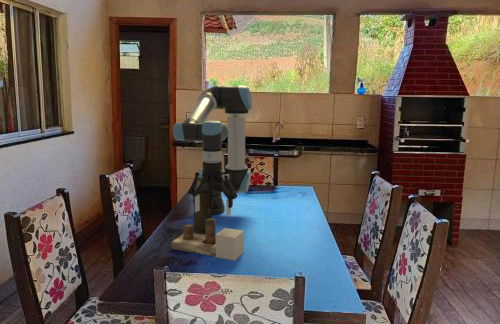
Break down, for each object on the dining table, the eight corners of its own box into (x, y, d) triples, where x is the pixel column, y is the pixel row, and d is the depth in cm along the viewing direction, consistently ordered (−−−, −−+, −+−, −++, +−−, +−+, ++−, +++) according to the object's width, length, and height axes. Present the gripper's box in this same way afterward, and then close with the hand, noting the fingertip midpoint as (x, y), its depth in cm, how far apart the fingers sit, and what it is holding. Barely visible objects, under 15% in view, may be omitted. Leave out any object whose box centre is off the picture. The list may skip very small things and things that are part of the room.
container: (194, 235, 170) (193, 195, 167) (191, 228, 179) (191, 190, 176) (214, 233, 173) (214, 194, 169) (210, 226, 181) (210, 189, 178)
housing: (225, 249, 155) (225, 227, 154) (243, 252, 152) (243, 230, 151) (215, 257, 148) (215, 234, 146) (234, 260, 145) (234, 237, 143)
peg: (208, 246, 158) (208, 217, 156) (217, 247, 157) (217, 219, 155) (203, 249, 155) (203, 220, 152) (212, 251, 153) (212, 222, 151)
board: (186, 238, 166) (186, 220, 165) (225, 244, 160) (225, 226, 159) (172, 248, 155) (171, 229, 154) (213, 255, 149) (213, 236, 148)
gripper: (178, 160, 152) (180, 212, 156) (238, 165, 144) (238, 220, 148) (188, 156, 159) (189, 206, 163) (245, 161, 151) (245, 214, 155)
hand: (212, 213), depth 156 cm, fingers open, 13 cm apart
